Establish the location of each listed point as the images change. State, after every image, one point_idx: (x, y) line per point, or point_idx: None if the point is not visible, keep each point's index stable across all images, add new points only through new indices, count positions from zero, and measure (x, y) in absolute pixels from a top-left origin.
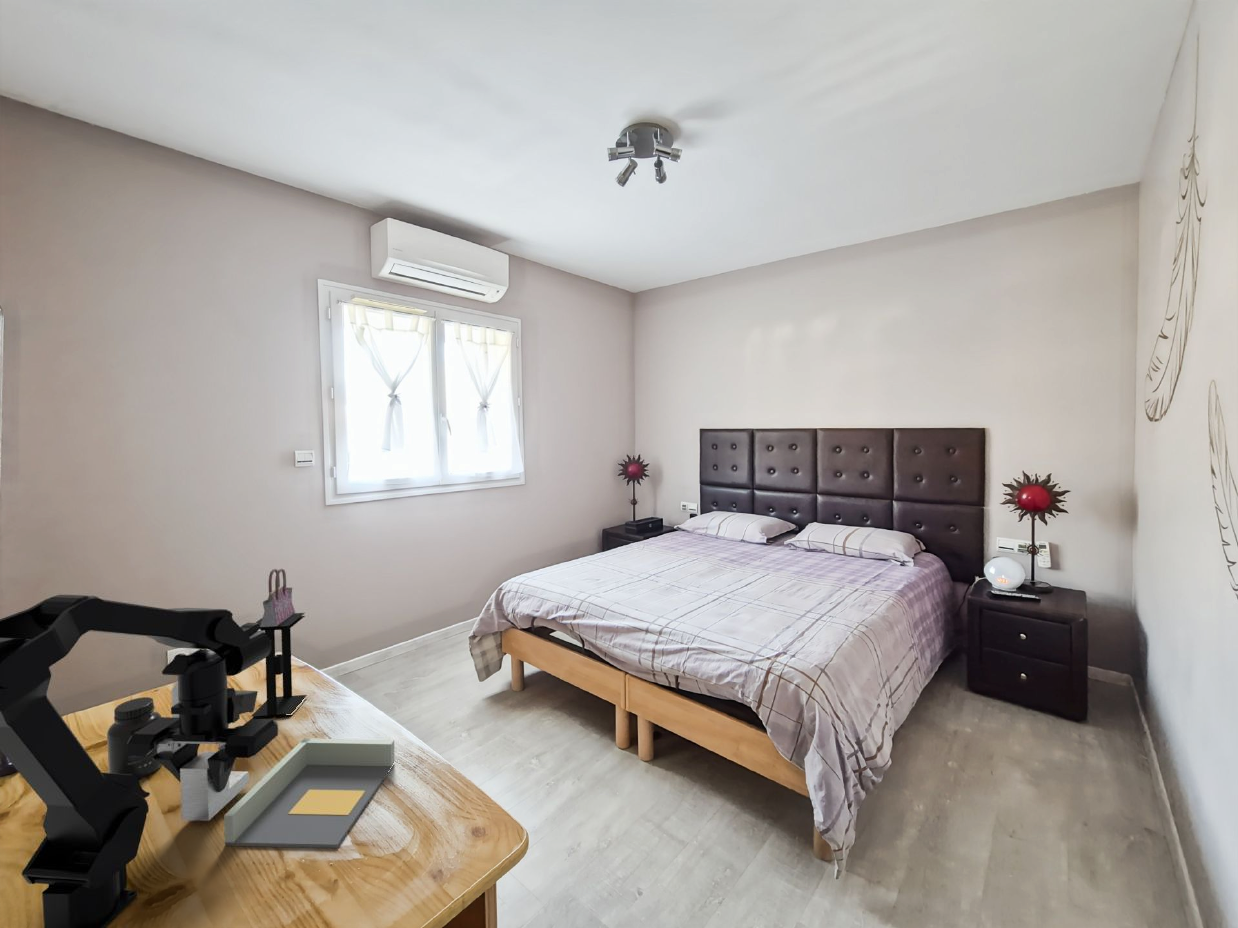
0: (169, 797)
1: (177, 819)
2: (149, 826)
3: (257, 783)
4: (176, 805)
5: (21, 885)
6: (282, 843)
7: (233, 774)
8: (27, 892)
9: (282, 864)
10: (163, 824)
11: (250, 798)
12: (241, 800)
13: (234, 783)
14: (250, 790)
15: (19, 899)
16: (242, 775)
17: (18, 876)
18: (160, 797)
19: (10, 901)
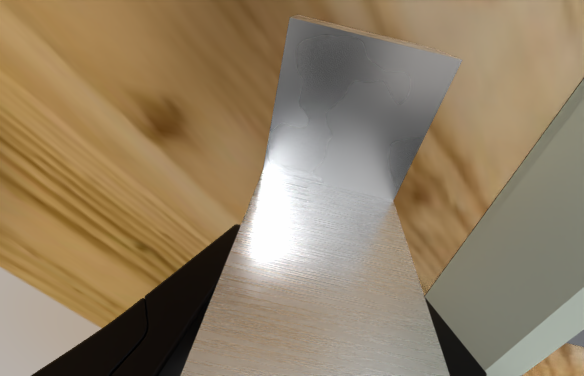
0: (85, 37)
1: (224, 179)
2: (159, 191)
3: (570, 297)
4: (161, 102)
5: (54, 291)
6: (576, 344)
7: (369, 72)
8: (86, 307)
9: (566, 368)
10: (196, 192)
11: (536, 361)
12: (500, 364)
13: (405, 165)
14: (536, 332)
15: (91, 315)
16: (431, 95)
17: (18, 271)
18: (45, 28)
19: (80, 315)
